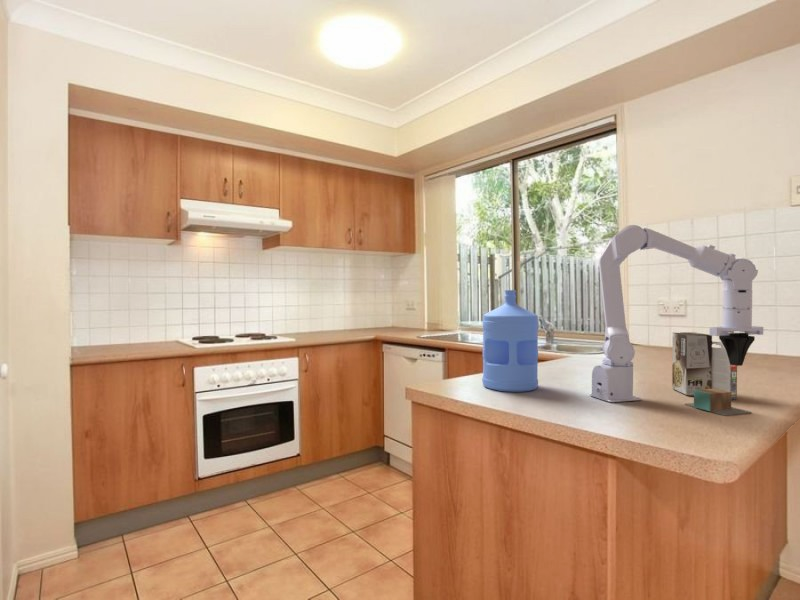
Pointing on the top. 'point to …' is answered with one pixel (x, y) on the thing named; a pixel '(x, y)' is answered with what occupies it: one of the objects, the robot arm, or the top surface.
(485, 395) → the top surface
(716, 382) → the ink box
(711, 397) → the walnut block
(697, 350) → the coffee box
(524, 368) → the water jug
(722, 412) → the rubber mat
